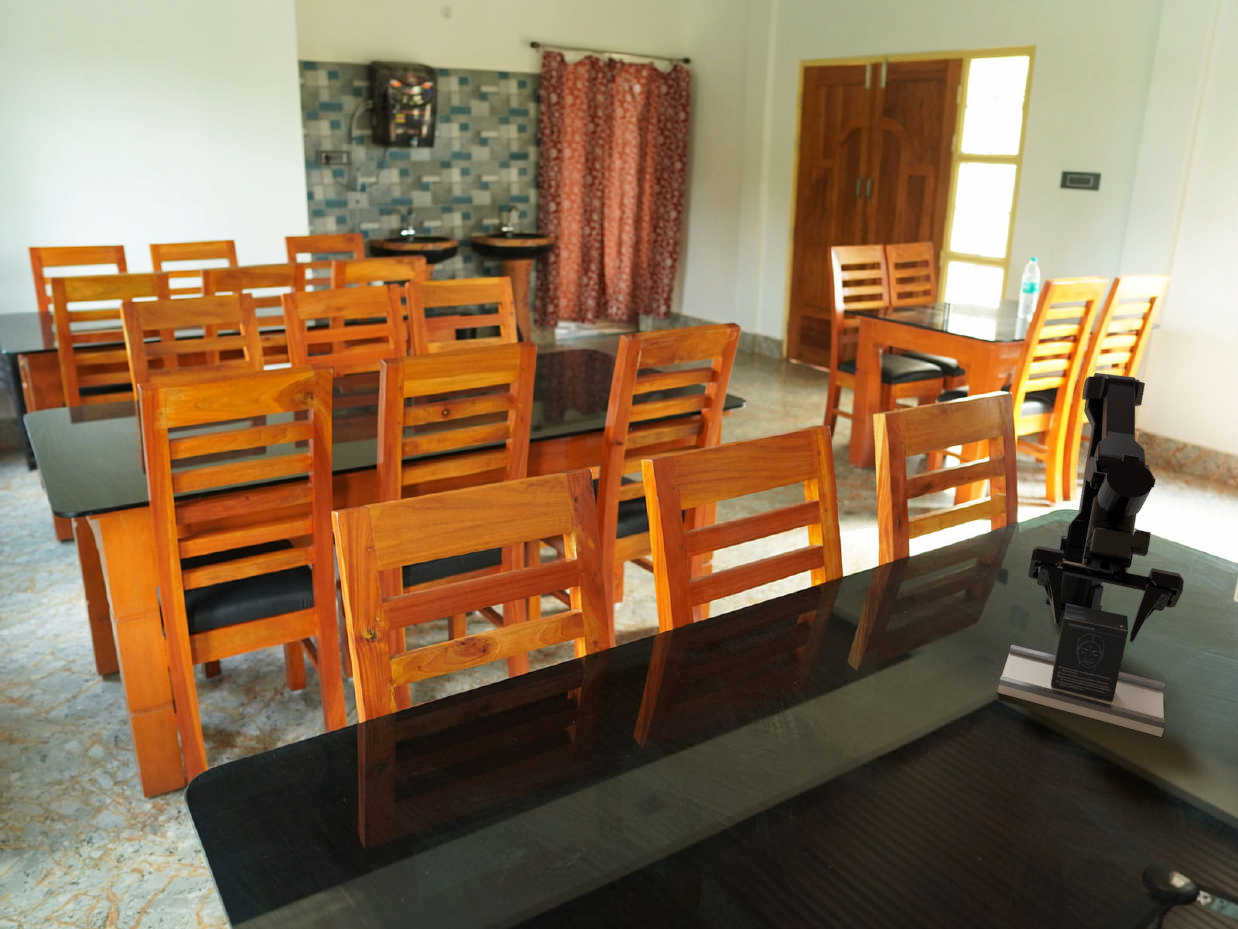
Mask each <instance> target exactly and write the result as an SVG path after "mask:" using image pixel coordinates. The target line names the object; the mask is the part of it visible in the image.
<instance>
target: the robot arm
mask: <svg viewBox="0 0 1238 929" xmlns="http://www.w3.org/2000/svg"><path fill="white" fill-rule="evenodd" d="M1145 385H1146V383H1145V382H1142V381H1140V380H1139V379H1136V378H1135V376H1126V375H1120V374H1119V375H1117V374H1109V373H1101V372H1094V374H1093V376H1088V377H1086V378H1085V380H1084V383H1083V389H1082V395H1081V399H1082V400H1084V401H1085V402H1084V408H1083V413H1084V415H1085V416H1086V419H1087V421H1088V422H1089V425H1090V426H1091V430H1090V437H1089V442H1088V450H1087V456H1086V463H1085V469H1084V474H1083V475H1084V476H1083V480H1082V481H1083V482H1082V487H1081V488H1082V489H1081V494H1080V501H1079V506H1078V512H1077V514H1076V515H1075V517H1074V518H1073V519H1072V520H1071V521H1070V522H1069V523H1068V524H1067V526H1066V527H1065V529H1064V534H1063V535H1060V537H1059V538H1058V542H1057V544H1056V547H1055V548H1051V547H1048V546H1047V547H1046V546H1043V545H1042V546H1041V545H1037V546H1036V547H1034V548H1033V549H1032V554H1031V558H1030V564H1029V568H1028V569H1029V570H1028V574H1027V576H1028V577H1029V578H1030V579H1031V580H1035V581H1036V584H1037V585H1038V586H1039V587H1043V588H1044V591H1045V592H1046V596H1047V597H1046V598H1045V602H1047V603H1049V604H1050V607H1051V608H1050V609H1051V612H1052V617H1053V621H1054V625H1055V626H1059V624H1060V619H1061V615H1062V609H1063V610H1065V607H1066V604H1072V605H1076V606H1081V607H1086V608H1091V609H1096V610H1101V611H1102V609H1103V606H1102V605H1101V603H1102V597H1103V592H1104V587H1105V586H1104V585H1103V584H1109V585H1114V586H1119V587H1124V588H1129V589H1134V590H1139V591H1143V594H1142V595H1143V596H1142V597H1141V600H1140V601H1139V605H1138V608H1137V611H1136V615H1135V617H1134V622H1133V624H1132V627H1131V630H1130V634H1129V635H1130V636H1129V643H1134V642H1135V640H1136V638H1137V636H1138V634H1139V633H1140V631H1141V629H1142V627H1143V625H1144V624H1145V622H1147V620H1148V619H1149V617H1150V616H1152V614H1153V613H1154V612H1155V611H1158V612H1159V611H1160V612H1162V611H1164V610H1165V608H1169V609H1170V608H1175V607H1176V606H1177V604H1178V601H1179V599H1180V598H1181V596H1182V594H1183V590H1184V584H1185V583H1184V582H1185V581H1184V580H1185V579H1184V578H1183V576H1182V575H1181V573H1179V572H1175V571H1168V570H1164V569H1158V568H1153V567H1152V568H1151V569H1150V571H1149V573H1148V576H1145V575H1140V574H1136V573H1135V574H1134V573H1130V572H1128V571H1129V569H1131V566H1132V561H1133V557H1134V556H1133V555H1135V556H1139V557H1146V556H1147V555H1148V552H1149V547H1150V544H1151V543H1150V541H1151V534H1152V533H1151V531H1146V530H1140V529H1135V525H1136V520H1137V514H1138V513H1140V511H1141V510H1142V508H1143V506H1144V504H1145V502H1146V501H1147V498H1148V497H1149V494H1150V492H1151V491H1152V489H1153V488H1155V484H1156V481H1157V480H1156V477H1155V476H1154V475H1153V474H1152V471H1151V468H1150V465H1149V464H1146V453H1145V449H1144V448H1143V447H1142V445H1140V443H1138V441H1136V407H1140V406H1142V402H1143V397H1144V392H1145Z"/></svg>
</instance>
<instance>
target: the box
mask: <svg viewBox="0 0 1238 929" xmlns="http://www.w3.org/2000/svg"><path fill="white" fill-rule="evenodd" d="M1128 620H1129V618H1128V615H1124V614H1121V613H1120V614H1119V613H1115V612H1109V611H1105V610H1102V609H1101V610H1096V609H1091V608H1086V607H1081V606H1076V605H1072V604H1066V607H1065V609H1064V613H1063V617H1062V623H1061V628H1060V631H1059V636H1058V637H1059V638H1058V642H1057V646H1056V653H1055V661H1054V666H1053V673H1052V680H1051V687H1054V688H1058V689H1063V690H1067V691H1071V692H1075V693H1079V694H1084V695H1088V696H1092V697H1096V698H1100V699H1105V700H1109V701H1113V699H1114V694H1115V690H1116V685H1117V681H1118V676H1119V672H1121V666H1122V662H1123V658H1124V652H1125V647H1126V644H1127V639H1128V633H1129V623H1128V622H1129V621H1128Z"/></svg>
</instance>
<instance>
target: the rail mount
mask: <svg viewBox="0 0 1238 929" xmlns="http://www.w3.org/2000/svg"><path fill="white" fill-rule="evenodd" d="M1055 656H1056V654H1055V655H1054V654H1050V653H1047V652H1042V651H1039V650H1035V649H1030V648H1028V647H1023V646H1018V645H1014V644H1011V645H1010V648H1009V653H1008V656H1007V659H1006V662H1005V665H1004V668H1003V672H1002V675H1000V678H999V683H998V688H997V693H999V694H1001V695H1007V696H1010V697H1013V698H1016V699H1021V700H1023V701H1028V702H1031V703H1035V704H1039V705H1042V706H1046V707H1049V708H1054V709H1057V710H1061V711H1065V712H1068V713H1071V714H1076V715H1080V716H1082V717H1086V718H1091V719H1094V720H1097V721H1101V722H1105V723H1108V724H1112V725H1116V726H1120V727H1124V728H1127V729H1132V730H1134V731H1138V732H1141V733H1146V734H1150V735H1153V736H1157V737H1161V738H1162V737H1163V735H1164V734H1163V733H1164V730H1165V724H1166V718H1164V689H1165V682H1162V681H1159V680H1155V679H1150V678H1147V677H1142V676H1139V675H1134V674H1131V673H1127V672H1122V671H1119V676H1118V681H1117V685H1116V690H1115V694H1114V699H1113V701H1109V700H1105V699H1100V698H1096V697H1092V696H1088V695H1084V694H1079V693H1075V692H1071V691H1067V690H1063V689H1058V688H1054V687H1051V680H1052V673H1053V666H1054V661H1055Z"/></svg>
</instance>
